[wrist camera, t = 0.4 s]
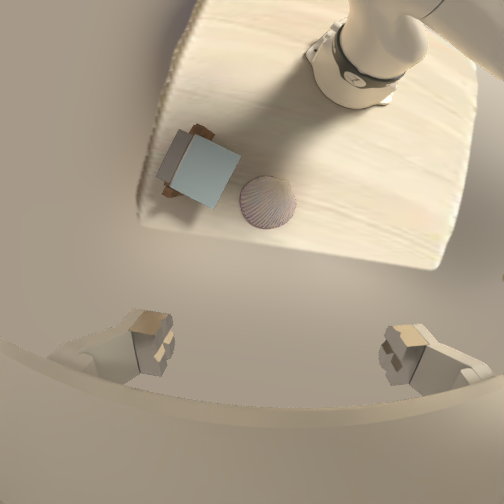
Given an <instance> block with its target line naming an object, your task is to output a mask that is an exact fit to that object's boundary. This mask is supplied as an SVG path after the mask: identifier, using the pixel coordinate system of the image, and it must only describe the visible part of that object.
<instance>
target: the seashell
mask: <svg viewBox="0 0 504 504" xmlns="http://www.w3.org/2000/svg"><path fill="white" fill-rule="evenodd" d="M240 202H241V208H242V209H241V210H242V211H243V215H245V218H247V219H246V220H247V221H250V223H252V224H253V225H255V226H256V227H257V226H258V227H259V228H261V227H262V228H263V229H264V228H266V229H268V228H269V229H270V228H276V227H279V226H282V225H284V224H285V223H287V221H289V219H290V218H291V217H292V216H293V214H294V212H295V209H296V199H295V196H294V194H292V190H291V186H290V184H289V182H288V181H287V180H279V179H276V178H274V177H273V176H271V177H269V176H263V177H258V178H256V179H254V180H251V182H249V183H248V184H247V185H246V186H245V187H244V189H243V190H242V192H241V196H240Z"/></svg>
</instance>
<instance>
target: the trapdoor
mask: <svg viewBox="0 0 504 504" xmlns="http://www.w3.org/2000/svg"><path fill="white" fill-rule="evenodd" d="M241 157H242V156H240V155H238V154H236V153H234V152H232V151H230V150H228V149H226V148H224V147H222V146H220V145H218V144H216V143H214V142H212V141H210V140H208V139H205V138H203V137H201V136H199V135H197V134H196V135H194V136H193V135H191V134H188V133H186V132H184V131H182V130H180V129H179V130H178V132H177V134H176V136H175V138H174V140H173V142H172V144H171V146H170V148H169V150H168V152H167V154H166V156H165V158H164V160H163V163H162V165H161V167H160V169H159V171H158V173H157V176H156V177H158V178H160V179H162V180H164V181H166V182H168V183H170V185H169V186H170V187H171V188H173V189H175V190H177V191H179V192H180V193H182V194H184V195H186V196H188V197H190V198H192V199H194V200H196V201H198V202H200V203H202V204H204V205H205V206H207V207H209V208H211V209H214V208H215V206H216V204H217V202H218V200H219V198H220V196H221V194H222V192H223V191H224V189H225V187H226V185H227V183H228V181H229V179H230V177H231V175H232V174H233V172H234V170H235V168H236V166H237V164H238V162H239V161H240V159H241Z"/></svg>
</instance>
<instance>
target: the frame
mask: <svg viewBox="0 0 504 504" xmlns="http://www.w3.org/2000/svg"><path fill="white" fill-rule="evenodd" d="M189 134H191V135H193V136H194V135H196V134H197V135H199V136H201V137H203V138H206V139H208V140H210V141H211V140H212V139H213V137H214V135H215V134H213V133H212V132H211V131H209V130H208V129H207V128H205V127H204V126H202V125H199V124H196V125H193V127H192V129H191V131H190V133H189ZM164 185H165V189H164V191H163V193H162V195H164V196H166V197H168V198H171V197H175V196H179V195H183V194H182V193H180V192H179V191H177V190H175V189H173V188H171V187H170V186H169V185H170V183H168V182H166V181H165V183H164Z"/></svg>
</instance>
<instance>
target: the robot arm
mask: <svg viewBox="0 0 504 504" xmlns="http://www.w3.org/2000/svg"><path fill="white" fill-rule="evenodd" d="M348 1H349V4H350V12H349V15H348V17H345V18H344V19H342V20H341V21H340V22H338V21H336V22H335V23H334V24H333V25H332V26H331V29H330V30H329V31H328V32H327V33H326V34H325V35H324V36H323V37H321V38H320V39H319V40H318V41H317V42H316V43H315V44H314V45H313V46H311V47H310V48H309V49H308V50H307V52H306V57H307V59H308V60H309V62H310V63H311V65H312V67H313V72H314V77H315V80H316V82H317V85H318V86H319V88H320V89H321V91H322V92H323V93H324V94H325V95H326V96H327V97H328V98H329V99H331V100H332V101H334V102H335V103H337V104H339V105H341V106H344V107H347V108H352V109H362V108H366V107H369V106H372V105H375V104H378V105H388V104H389V103H390V102H391V100H392V96H393V92H394V91H395V90H396V89H397V88H398V86H397V83H398V80H400V79H401V77H402V76H403V75H404V74H405V72H406V71H407V70H408V69H410V68H411V67H413V66H414V65H416V64H417V63H419V62H420V61H422V60H423V58H424V57H425V55H426V53H427V50H428V37H427V33H426V30H425V27H424V24H426V25H427V26H428V27H430V28H431V29H432V30H434V31H435V32H437V33H438V34H439V35H440V36H442V37H443V38H444V39H446V40H447V41H448V42H449V43H451V44H452V45H453V46H454V47H456V48H457V49H458V50H459V51H460V52H461V53H463V54H464V55H465V56H466V57H468V58H469V59H471V60H472V61H473V62H475V63H477V64H478V65H479V66H481V67H482V68H483V69H485V70H486V71H488V72H489V73H491V74H492V75H493V76H495V77H496V78H498V79H500V80H502V81H504V0H348ZM423 23H424V24H423ZM314 50H317V52H315V51H314ZM172 326H173V320H172V316H171V314H167V313H161V312H154V311H148V310H143V309H132V310H131V311H130V312H129V313H128V314H127V315H126V316H125V317H124V319H123V320H122V321H121V322H120V323H119V324H118V325H117V327H115V328H108V329H105V330H103V331H100V332H97V333H94V334H91V335H88V336H85V337H82V338H79V339H76V340H73V341H70V342H67V343H63V344H61V345H59V346H58V347H57V348H56V349H55V350H54V351H53V352H52V353H51V354H50V355H49V356H48V357H47V358H43V357H41V356H39V355H36V354H34V353H32V352H30V351H28V350H25V349H23V348H21V347H19V346H17V345H15V344H13V343H11V342H9V341H7V340H5V339H3V338H1V337H0V504H504V374H501V375H498V376H496V375H495V374H494V373H493V372H492V371H491V369H490V368H489V367H488V366H487V365H486V364H485V363H483V362H481V361H479V360H477V359H475V358H473V357H471V356H468V355H466V354H464V353H462V352H460V351H457V350H455V349H453V348H451V347H449V346H446V345H444V344H439V343H438V342H437V340H436V339H435V338H434V337H433V336H432V335H431V334H430V332H429V331H428V330H427V329H426V328H425V327H424V326H423V325H422V324H412V325H399V326H388V328H387V329H386V332H385V335H384V336H385V338H386V341H385V342H384V343H383V344H382V345H381V347H380V351H379V362H380V365H381V367H382V368H383V369H385V370H386V371H387V372H386V377H387V379H388V381H389V383H390V385H391V386H394V385H403V384H409V385H410V386H411V387H413V388H414V389H415V390H417V391H418V392H419V393H420V394H421V395H423V396H422V397H416V398H411V399H405V400H400V401H392V402H385V403H377V404H368V405H358V406H345V407H328V408H272V407H254V406H239V405H230V404H221V403H212V402H205V401H198V400H192V399H185V398H180V397H174V396H169V395H164V394H159V393H154V392H150V391H145V390H141V389H137V388H133V387H129V386H125V385H124V384H125V383H127V382H128V381H130V380H131V379H133V378H135V377H136V376H137V375H139V374H140V373H143V374H148V375H154V376H159V377H161V376H162V375H163V373H164V371H165V369H166V367H167V361H166V360H168V359H170V358H171V356H172V354H173V351H174V344H175V339H174V334H173V333H172V331H171V330H170V329H171V327H172Z"/></svg>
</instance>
